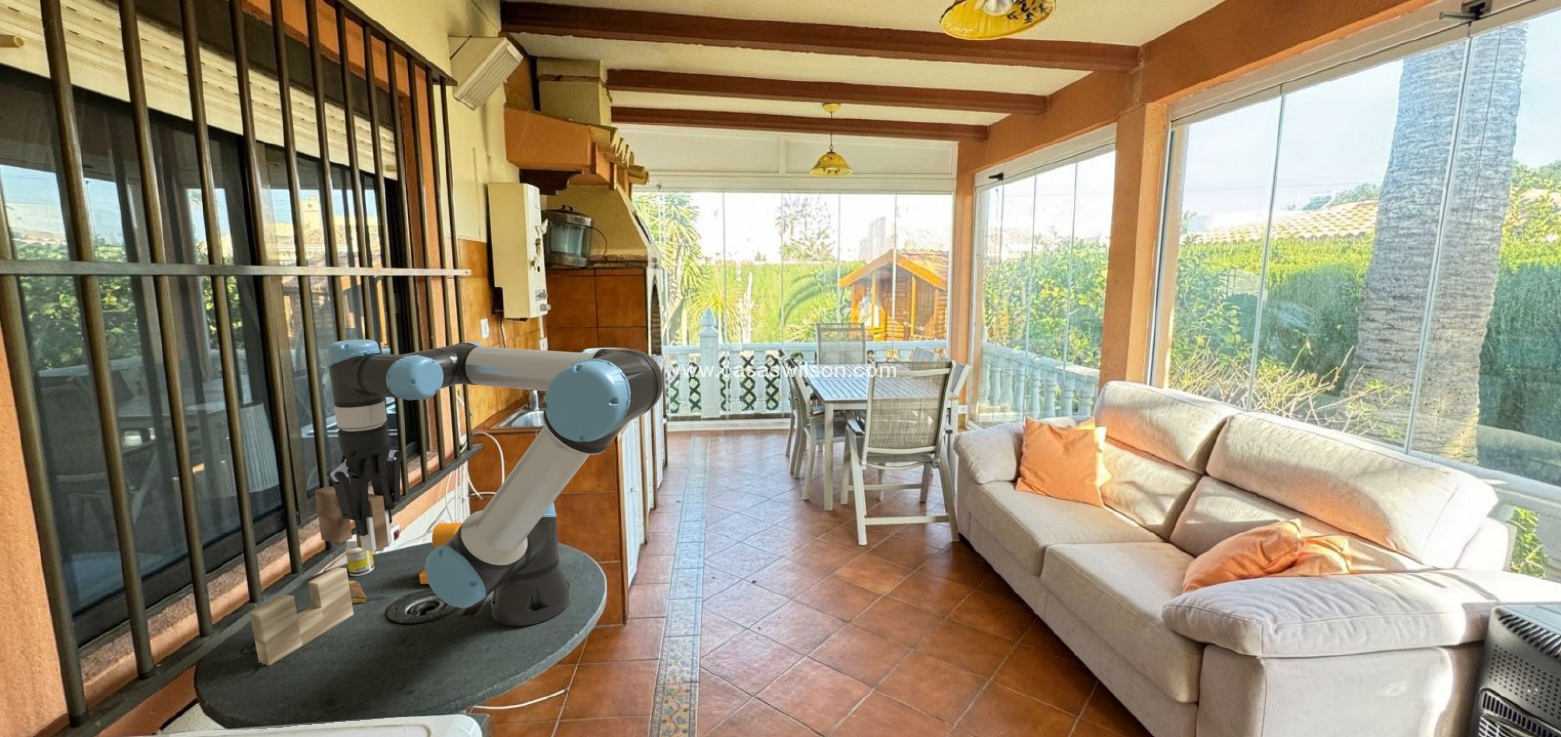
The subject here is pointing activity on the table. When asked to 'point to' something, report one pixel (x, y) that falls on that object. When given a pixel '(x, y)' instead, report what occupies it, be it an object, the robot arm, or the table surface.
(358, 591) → the brown flat piece
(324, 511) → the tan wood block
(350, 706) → the table surface
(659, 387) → the robot arm
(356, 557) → the supplement bottle
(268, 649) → the interlocking wood puzzle
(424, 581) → the bracket
